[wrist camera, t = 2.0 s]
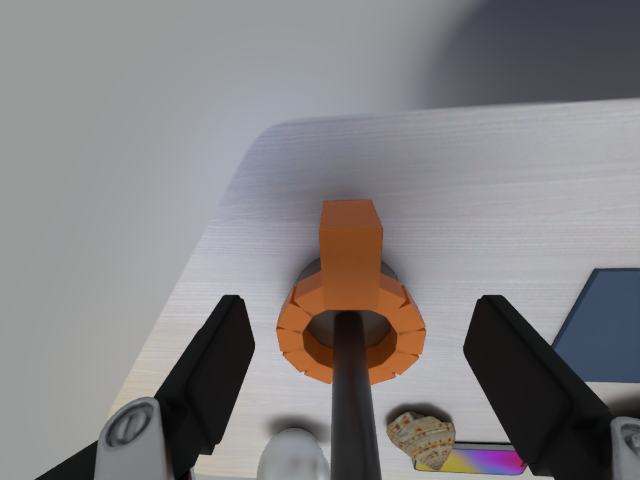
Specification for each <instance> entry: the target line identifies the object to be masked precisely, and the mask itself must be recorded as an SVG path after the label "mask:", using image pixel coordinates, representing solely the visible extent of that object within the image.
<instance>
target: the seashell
mask: <svg viewBox="0 0 640 480" xmlns="http://www.w3.org/2000/svg"><path fill="white" fill-rule="evenodd" d="M387 435H388V436H389V438H390V440H391V442H392V443H393V444H394V445H395V446H396V447H398V448H400V449H401V450H403V451H404V452H405V453H406V454H407V455H408V456H410V457H412V458H413V459H415V460H416V461H417V462H419V463H420V464H422V465H424V466H426V467H429V468H431V469H433V470H436V471H439V470H440V469H441V468H442V466H443V464H444V463H445V461H446V460H447V459H448V457H449V455H450V453H451V451H452V448H453V444H454V442H455V435H456V431H455V426H454V424H453V423H448V422H441V421H440V420H439V419H436V418H435V417H433V416H428V417H425V415H422V414H416V413H415V412H411V411H409V412H406V413H404V414H402V415H400V416H399V417H398V418H397V419H396V420H395V421H394V422H391V423H390V424H389V426H388V427H387Z"/></svg>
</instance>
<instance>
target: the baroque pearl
mask: <svg viewBox="0 0 640 480" xmlns="http://www.w3.org/2000/svg"><path fill="white" fill-rule="evenodd" d="M257 480H330V467H329V463H328V461H327V459H326V458H325V457H324V455H323V451H322V449H321V448H320V446H319V444H318V441H317V440H316V438H315V437H314V436H313V435H312V434H310V433H309V432H307V431H306V430H303V429H300V428H289V429H285V430H283V431H281V432H279V433H278V434H277V435H275V436H274V437H273V438H272V439H271V440H270V442H269V443H268V444H267V446H266V447H265V449H264V451H263V453H262V455H261V458H260V461H259V465H258V470H257Z"/></svg>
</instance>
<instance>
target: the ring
mask: <svg viewBox="0 0 640 480" xmlns="http://www.w3.org/2000/svg"><path fill="white" fill-rule="evenodd" d="M382 237H383V228H382V225H381V223H380V220H379V218H378V215H377V213H376V210H375V208H374V205H373V203H372V200H344V201H324V202H323V208H322V214H321V220H320V225H319V244H320V259H321V271H319V272H317V273H315V274H314V275H312V276H310V277H308V278H306V279H304V280H302V281H300V282H298V284H297V287H296V286H293V288H292V290H291V292H290V293H289V295H288V297H287V299H286V300H285V302H284V304H283V306H282V308H281V312H280V315H279V318H278V322H277V328H276V332H277V337H278V342H279V347H280V351H283V356H284V357H285V358H286V359H287V360H288V361H289V362H290V363H291V364H292V365H293V366H294V367H295V368H296V369H297V370H298V371H299V372H303V371H305V375H306V376H309V377H312V378H314V379H317V380H320V381H322V382H325V383H328V384H331V383H332V378H333V349H332V348H330V347H327V346H325V345H322V344H320V343H319V342H318V341H317V340H316V339H315V338H314V337H313V336H312V335H311V333H310V332H309V331H308V330H307V325H308V323H309V322H310V320H311V319H312V317H313V316H315V315H317V314H319V313H322V312H324V311H326V310H372V311H374V312H376V313H379V314H381V315H383V316H385V317H386V318H387V319H388V321H389V322H390V323H391V331H390V332H389V333H388V334H387V335H386V336H385V337H384V338H383V339H382V341H381V342H380V343H379V344H377V345H375V346H372V347H369V348H366V352H367V361H368V369H369V377H370V385H373V384H376V383H379V382H382V381H386V380H389V379H392V378H395V377H396V376H395V373H396V374H399V375H401V374H402V373H403V372H404V371H405V370H407V369H408V368H409V367H410V366H411V365H412V364H413V363H414V362H416V361H417V360H418V359H419V356H418V354H422V350H423V345H424V341H425V336H426V329H425V327H426V326H425V324H424V321H423V319H422V316H421V314H420V312H419V309H418V307H417V305H416V304H415V302H414V300H413V299H412V297H411V295H410V294H409V292H408V291H407V289H406V287H405V286H404V285H403V286H401V284H400V282H399V281H397V280H395V279H393V278H391V277H389V276H386V275H384V274H382V273H380V267H381V252H382Z"/></svg>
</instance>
